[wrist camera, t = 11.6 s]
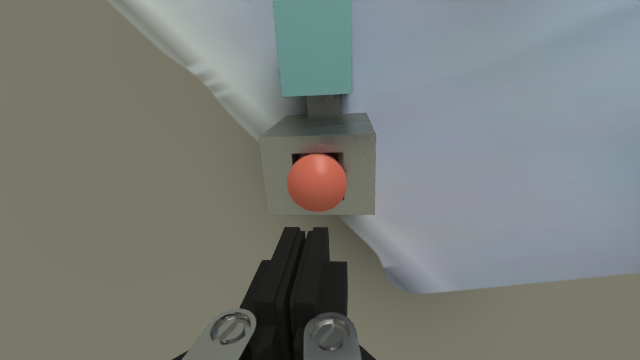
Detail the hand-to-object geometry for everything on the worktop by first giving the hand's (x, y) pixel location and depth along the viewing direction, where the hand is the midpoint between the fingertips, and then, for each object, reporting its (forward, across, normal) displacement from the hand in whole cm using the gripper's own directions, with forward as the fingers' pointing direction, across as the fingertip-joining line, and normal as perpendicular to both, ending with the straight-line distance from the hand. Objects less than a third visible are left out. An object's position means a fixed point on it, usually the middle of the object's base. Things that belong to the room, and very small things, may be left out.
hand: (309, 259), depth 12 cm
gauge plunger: (+13, +1, 0) cm, 13 cm away
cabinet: (+20, +1, 0) cm, 20 cm away
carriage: (+20, +1, -8) cm, 22 cm away
